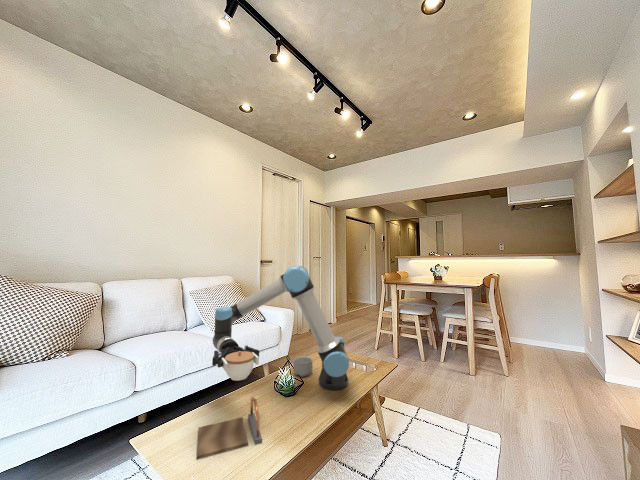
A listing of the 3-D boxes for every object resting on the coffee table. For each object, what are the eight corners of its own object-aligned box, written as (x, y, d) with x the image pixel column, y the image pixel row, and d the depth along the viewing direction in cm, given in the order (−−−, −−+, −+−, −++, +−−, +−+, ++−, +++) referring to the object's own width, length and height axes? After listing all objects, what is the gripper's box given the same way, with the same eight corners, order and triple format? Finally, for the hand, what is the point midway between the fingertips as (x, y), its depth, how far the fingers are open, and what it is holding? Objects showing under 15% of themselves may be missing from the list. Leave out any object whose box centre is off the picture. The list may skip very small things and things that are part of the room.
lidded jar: (245, 368, 108) (245, 345, 108) (259, 377, 100) (259, 351, 101) (219, 376, 100) (220, 351, 101) (232, 386, 93) (233, 358, 93)
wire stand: (254, 416, 108) (254, 413, 108) (262, 442, 92) (262, 438, 92) (248, 418, 107) (248, 414, 107) (255, 444, 91) (255, 440, 91)
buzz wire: (252, 414, 107) (253, 389, 107) (259, 436, 93) (259, 408, 94) (250, 414, 106) (250, 390, 107) (256, 437, 93) (257, 409, 93)
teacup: (309, 379, 141) (309, 363, 142) (290, 377, 144) (290, 362, 144) (315, 369, 155) (315, 354, 156) (297, 367, 157) (297, 353, 158)
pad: (242, 420, 106) (242, 417, 106) (248, 445, 91) (248, 442, 91) (198, 430, 99) (198, 427, 99) (196, 459, 85) (196, 456, 85)
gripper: (253, 351, 122) (272, 368, 103) (198, 361, 109) (208, 382, 91) (254, 334, 122) (272, 348, 104) (199, 343, 110) (209, 359, 91)
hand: (242, 364), depth 97 cm, fingers closed on lidded jar, 11 cm apart
